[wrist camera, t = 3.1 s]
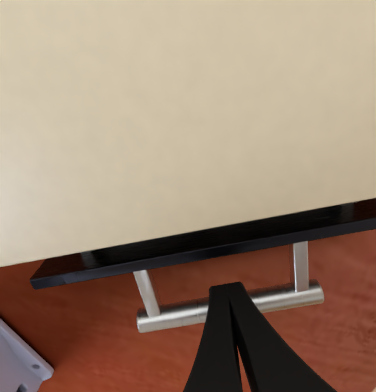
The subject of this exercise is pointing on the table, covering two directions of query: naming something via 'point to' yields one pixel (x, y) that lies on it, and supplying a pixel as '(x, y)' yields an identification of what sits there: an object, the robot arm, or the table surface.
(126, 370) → the table surface
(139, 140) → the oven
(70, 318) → the table surface
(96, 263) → the drawer
